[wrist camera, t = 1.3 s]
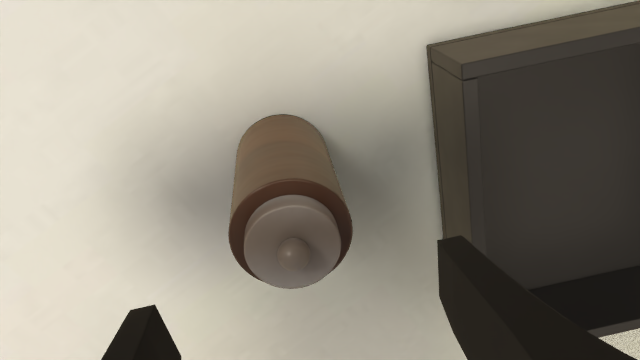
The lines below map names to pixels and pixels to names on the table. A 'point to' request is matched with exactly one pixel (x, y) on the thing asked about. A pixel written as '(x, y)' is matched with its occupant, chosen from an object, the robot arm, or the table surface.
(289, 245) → the pepper mill
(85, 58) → the table surface
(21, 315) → the table surface
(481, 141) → the black bin
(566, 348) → the robot arm
